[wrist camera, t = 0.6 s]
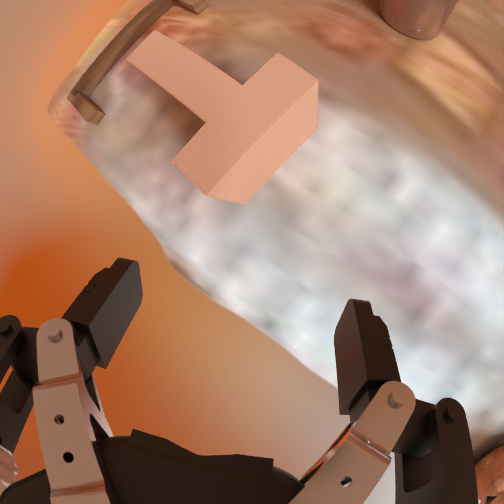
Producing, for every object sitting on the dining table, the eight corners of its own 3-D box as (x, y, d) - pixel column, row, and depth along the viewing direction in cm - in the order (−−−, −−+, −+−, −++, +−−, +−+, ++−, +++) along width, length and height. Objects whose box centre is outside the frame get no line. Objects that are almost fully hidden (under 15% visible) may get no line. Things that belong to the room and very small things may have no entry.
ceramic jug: (447, 469, 30) (467, 526, 16) (514, 419, 26) (548, 466, 13) (464, 498, 29) (479, 543, 16) (520, 458, 26) (543, 497, 12)
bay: (208, 6, 31) (202, -3, 28) (97, 124, 36) (86, 120, 33) (176, -7, 31) (170, -15, 29) (76, 101, 36) (66, 97, 34)
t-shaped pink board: (317, 128, 30) (318, 80, 18) (243, 204, 33) (205, 195, 21) (220, 56, 31) (184, 3, 20) (156, 123, 34) (99, 91, 22)
